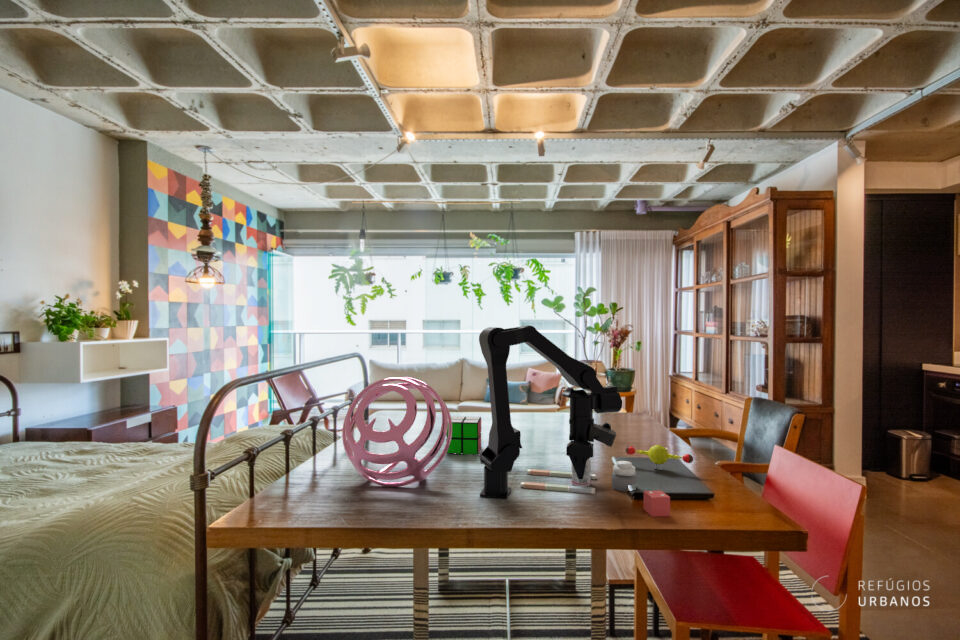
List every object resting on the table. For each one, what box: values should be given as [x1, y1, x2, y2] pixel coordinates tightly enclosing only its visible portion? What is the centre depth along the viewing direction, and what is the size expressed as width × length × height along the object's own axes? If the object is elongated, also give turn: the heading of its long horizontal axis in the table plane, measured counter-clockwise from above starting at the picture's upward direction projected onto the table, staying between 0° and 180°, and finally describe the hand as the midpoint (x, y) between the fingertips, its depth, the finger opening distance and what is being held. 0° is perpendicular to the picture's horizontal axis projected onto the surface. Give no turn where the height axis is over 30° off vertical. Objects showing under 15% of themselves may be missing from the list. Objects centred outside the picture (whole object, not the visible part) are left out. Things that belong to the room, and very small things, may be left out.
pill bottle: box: [571, 458, 592, 487], centre depth 123 cm, size 5×5×8 cm
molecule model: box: [625, 444, 694, 465], centre depth 136 cm, size 18×6×7 cm, turn 58°
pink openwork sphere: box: [341, 376, 452, 488], centre depth 127 cm, size 28×28×27 cm
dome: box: [612, 460, 636, 476], centre depth 121 cm, size 5×5×2 cm
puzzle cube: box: [445, 415, 482, 455], centre depth 156 cm, size 10×10×10 cm
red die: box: [643, 490, 671, 518], centre depth 105 cm, size 4×4×4 cm
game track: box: [519, 468, 638, 495], centre depth 124 cm, size 13×28×3 cm, turn 76°
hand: (581, 476), depth 123 cm, fingers closed on pill bottle, 5 cm apart
